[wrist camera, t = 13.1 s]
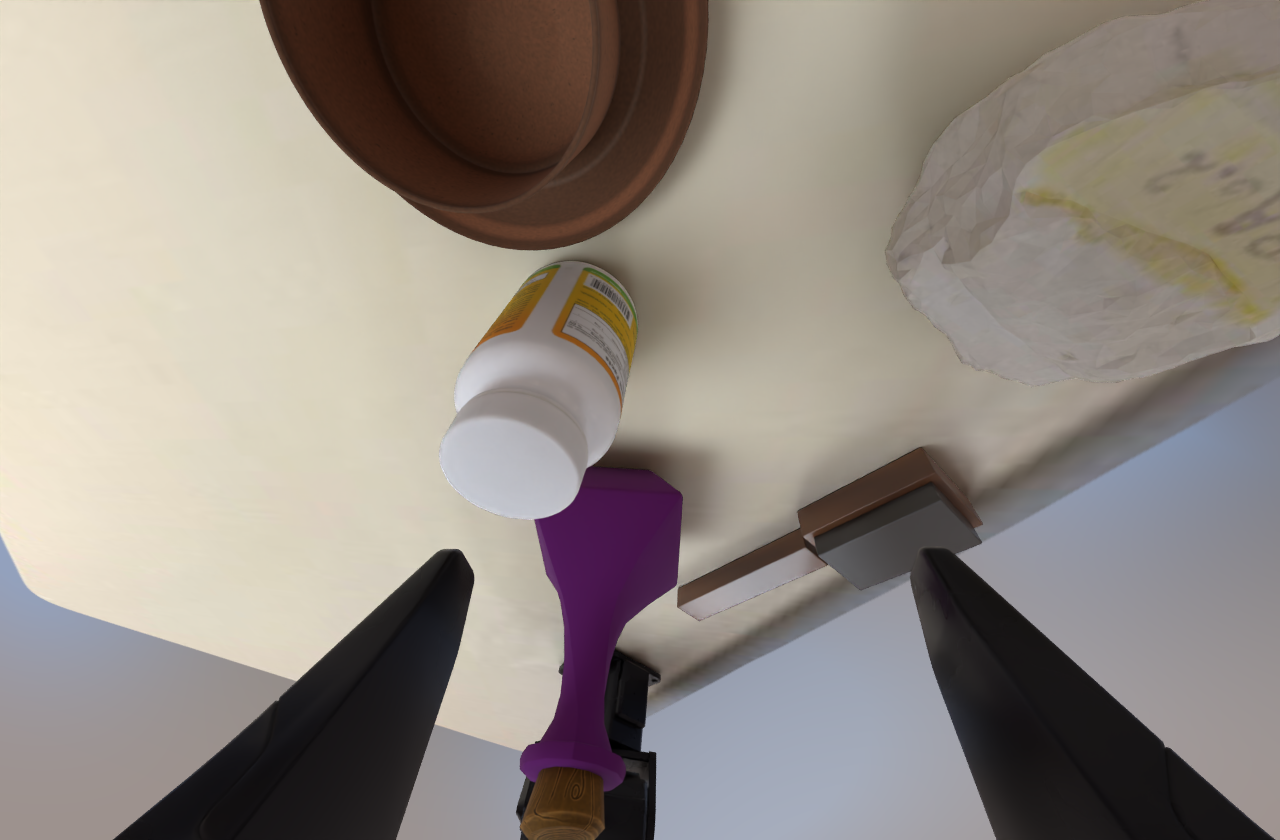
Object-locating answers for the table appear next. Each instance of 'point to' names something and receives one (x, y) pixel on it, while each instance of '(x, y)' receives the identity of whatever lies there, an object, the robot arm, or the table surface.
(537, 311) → the supplement bottle
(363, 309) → the table surface
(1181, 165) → the fossil replica
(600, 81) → the cup and saucer
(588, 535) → the perfume bottle
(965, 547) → the hairbrush
